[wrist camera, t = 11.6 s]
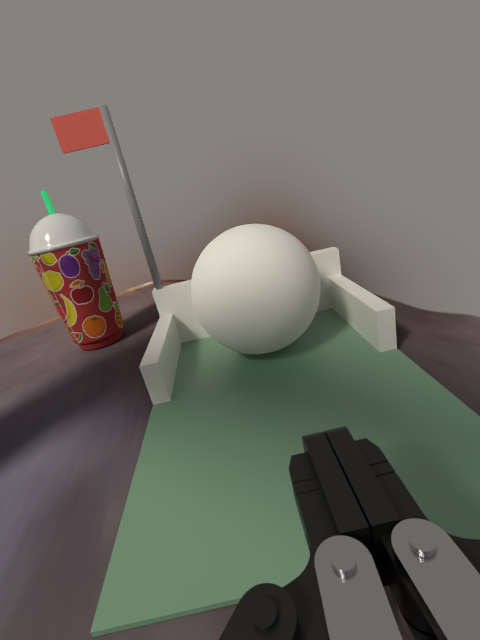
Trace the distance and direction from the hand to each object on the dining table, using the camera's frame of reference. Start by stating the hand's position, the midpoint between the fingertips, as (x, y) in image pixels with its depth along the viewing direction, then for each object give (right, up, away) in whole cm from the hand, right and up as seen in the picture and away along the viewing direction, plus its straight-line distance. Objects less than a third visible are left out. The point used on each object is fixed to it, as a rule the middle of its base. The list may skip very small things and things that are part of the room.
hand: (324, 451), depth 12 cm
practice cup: (-2, -1, +16) cm, 16 cm away
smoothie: (-22, +1, +36) cm, 42 cm away
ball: (-1, +7, +21) cm, 22 cm away
